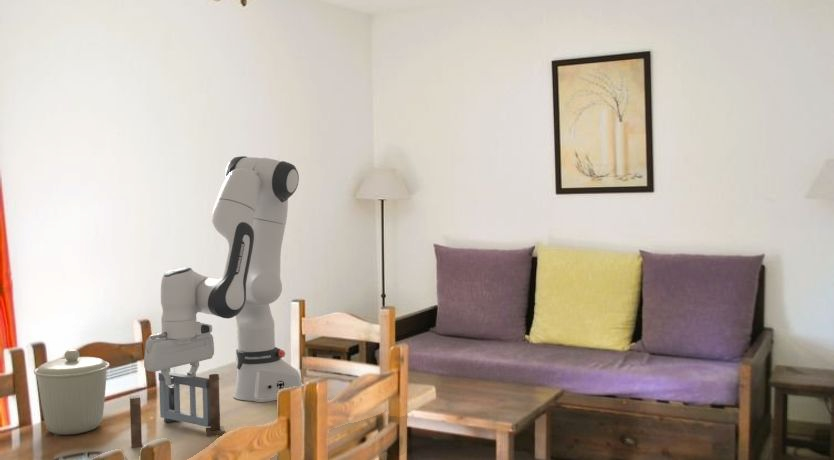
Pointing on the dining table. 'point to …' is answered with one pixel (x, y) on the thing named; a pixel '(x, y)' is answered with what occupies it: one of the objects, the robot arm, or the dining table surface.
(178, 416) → the gate
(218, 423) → the gate frame
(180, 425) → the dining table surface
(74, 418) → the canister
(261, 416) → the dining table surface
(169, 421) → the stop post
